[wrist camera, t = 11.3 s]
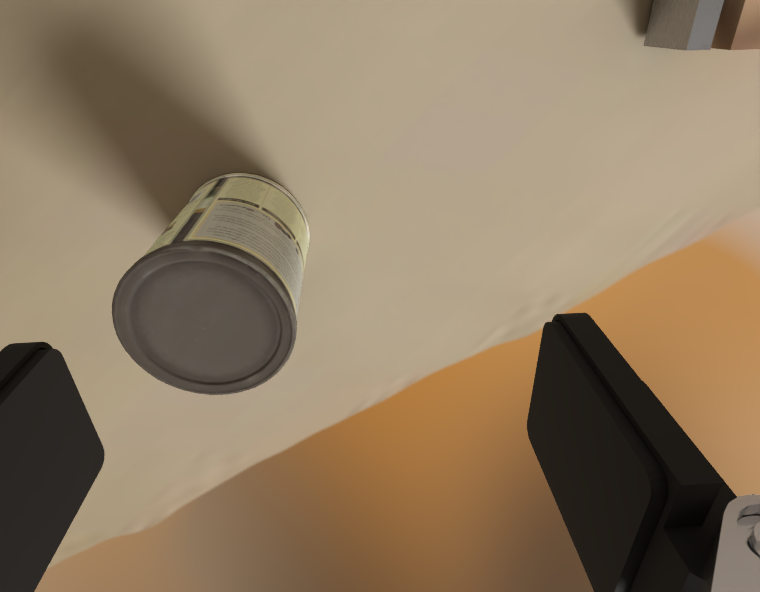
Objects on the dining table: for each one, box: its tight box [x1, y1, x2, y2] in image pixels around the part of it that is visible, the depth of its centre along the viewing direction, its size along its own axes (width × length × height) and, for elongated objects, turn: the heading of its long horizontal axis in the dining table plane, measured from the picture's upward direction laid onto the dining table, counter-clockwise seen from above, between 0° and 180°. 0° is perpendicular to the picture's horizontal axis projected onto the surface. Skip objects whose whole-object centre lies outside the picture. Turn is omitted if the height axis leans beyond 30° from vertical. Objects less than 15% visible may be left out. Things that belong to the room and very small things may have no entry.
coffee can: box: [112, 173, 310, 395], centre depth 34 cm, size 10×10×14 cm
